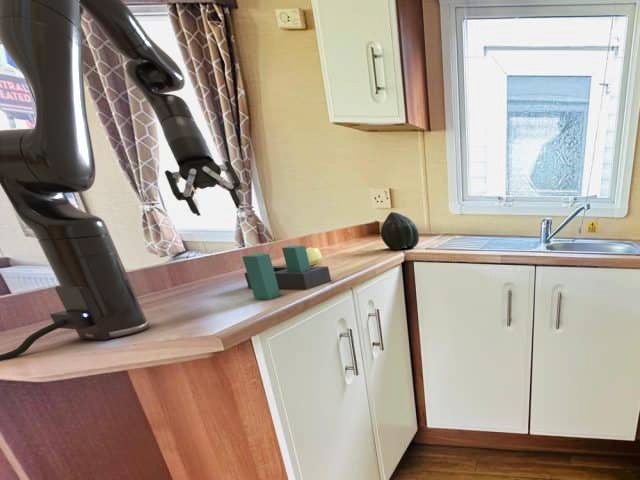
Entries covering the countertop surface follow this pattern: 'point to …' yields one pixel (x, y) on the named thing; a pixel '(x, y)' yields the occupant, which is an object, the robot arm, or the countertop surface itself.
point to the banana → (312, 256)
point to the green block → (261, 276)
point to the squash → (399, 232)
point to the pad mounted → (296, 258)
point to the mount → (299, 277)
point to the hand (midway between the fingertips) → (218, 210)
